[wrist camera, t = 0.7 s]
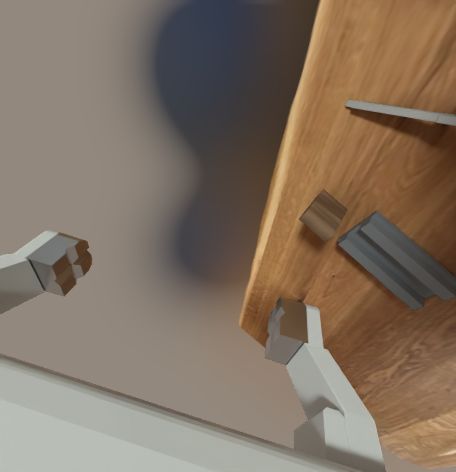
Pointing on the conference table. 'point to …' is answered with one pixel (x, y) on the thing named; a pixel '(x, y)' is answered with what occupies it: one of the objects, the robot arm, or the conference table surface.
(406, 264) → the picture ledge
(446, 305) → the conference table surface
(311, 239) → the conference table surface
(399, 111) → the caliper
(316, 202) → the wooden picture frame
